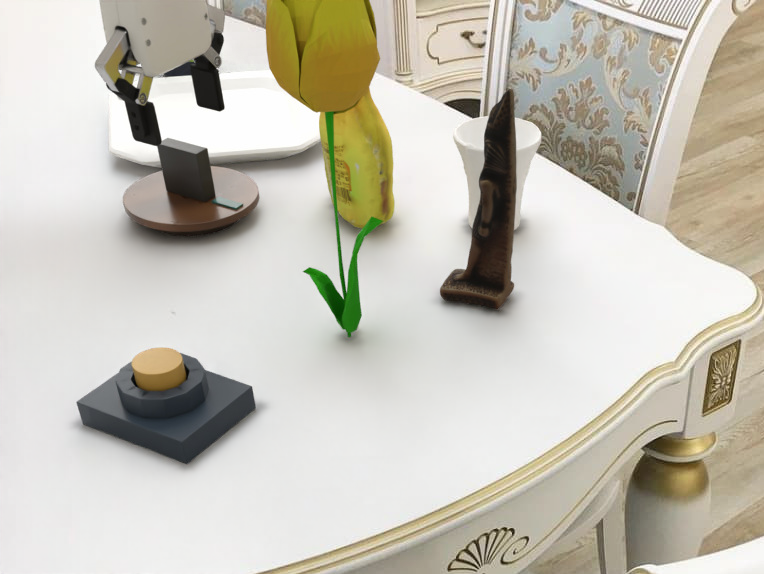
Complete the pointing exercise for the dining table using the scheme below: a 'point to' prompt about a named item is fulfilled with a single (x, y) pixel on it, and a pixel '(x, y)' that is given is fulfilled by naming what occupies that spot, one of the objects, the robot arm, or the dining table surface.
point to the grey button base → (168, 410)
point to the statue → (491, 218)
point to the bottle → (360, 163)
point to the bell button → (158, 369)
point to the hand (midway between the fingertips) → (180, 124)
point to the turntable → (189, 192)
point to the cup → (472, 155)
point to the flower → (326, 96)
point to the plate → (220, 120)
